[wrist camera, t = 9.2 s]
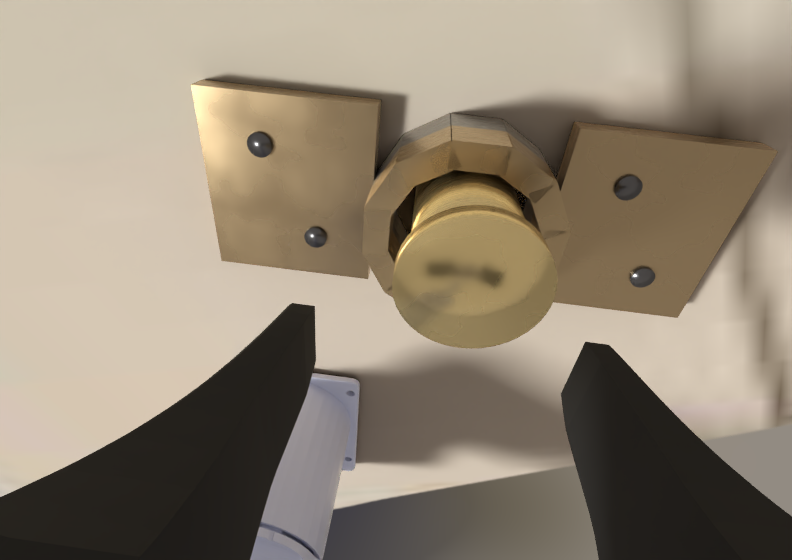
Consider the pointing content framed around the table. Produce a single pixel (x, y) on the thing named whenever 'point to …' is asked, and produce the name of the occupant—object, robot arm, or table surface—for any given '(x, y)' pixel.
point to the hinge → (474, 152)
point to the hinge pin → (472, 263)
